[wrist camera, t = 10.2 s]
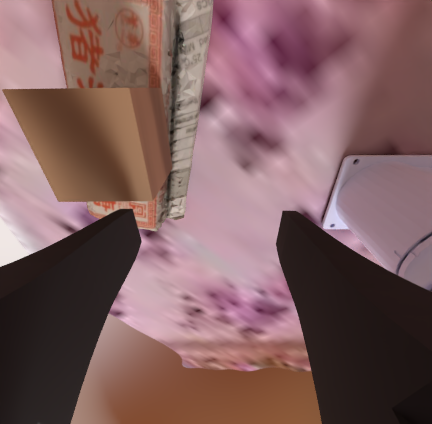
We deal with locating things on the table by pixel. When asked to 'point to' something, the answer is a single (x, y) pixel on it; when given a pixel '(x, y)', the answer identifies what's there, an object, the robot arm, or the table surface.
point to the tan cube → (97, 140)
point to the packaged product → (142, 75)
